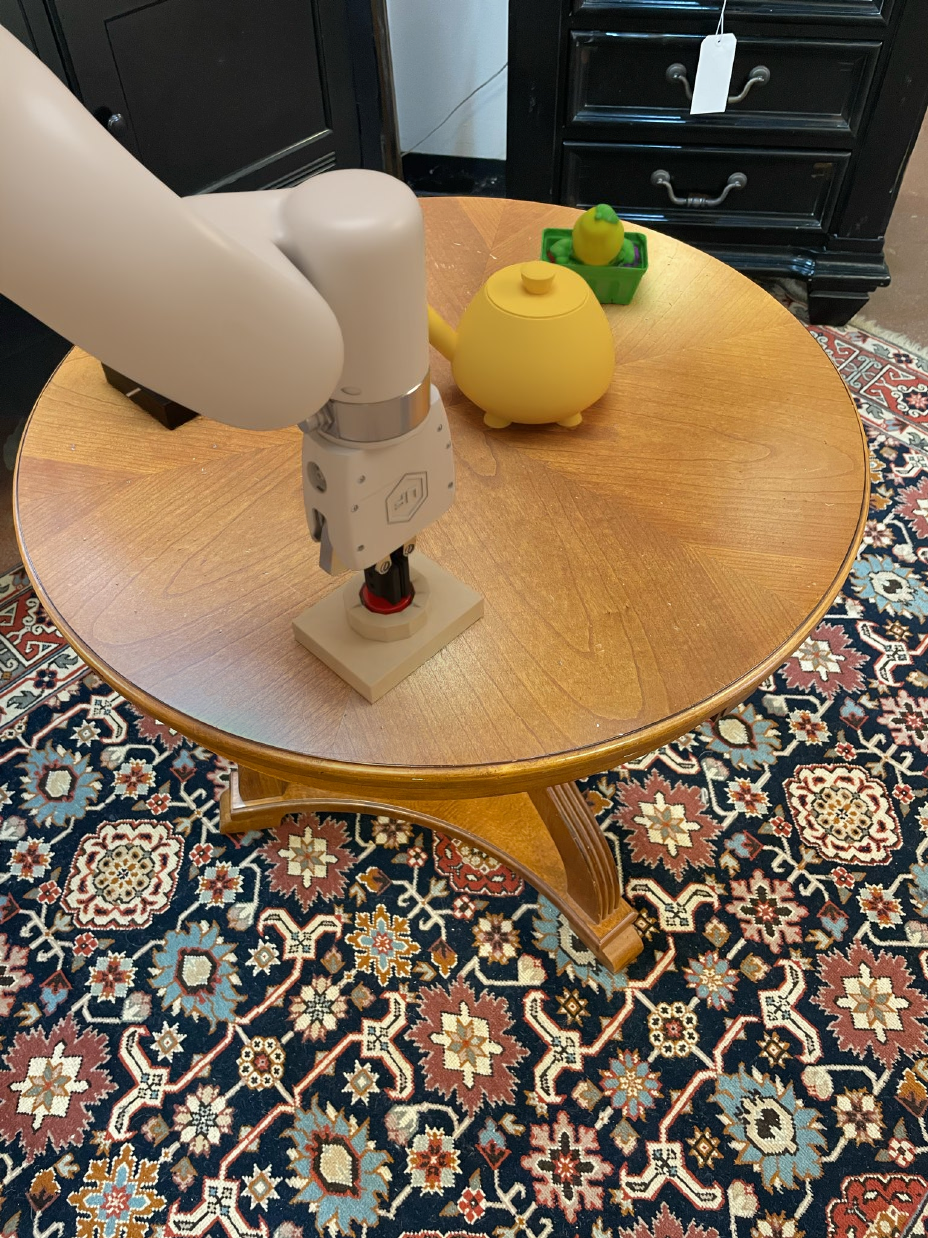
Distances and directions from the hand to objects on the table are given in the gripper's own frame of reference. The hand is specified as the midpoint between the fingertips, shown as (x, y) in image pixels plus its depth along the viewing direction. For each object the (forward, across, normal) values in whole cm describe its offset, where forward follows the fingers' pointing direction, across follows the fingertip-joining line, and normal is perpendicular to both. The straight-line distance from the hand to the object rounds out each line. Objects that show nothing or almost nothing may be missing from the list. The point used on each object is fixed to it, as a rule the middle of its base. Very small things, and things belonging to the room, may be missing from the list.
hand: (388, 590), depth 72 cm
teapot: (+4, +28, +13) cm, 31 cm away
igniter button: (+2, 0, 0) cm, 2 cm away
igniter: (+4, 0, 0) cm, 4 cm away
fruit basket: (+5, +48, +19) cm, 52 cm away
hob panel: (+4, +9, +38) cm, 39 cm away
